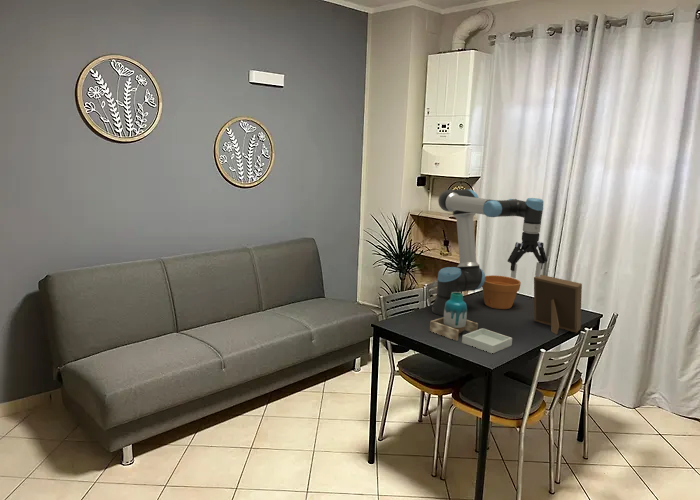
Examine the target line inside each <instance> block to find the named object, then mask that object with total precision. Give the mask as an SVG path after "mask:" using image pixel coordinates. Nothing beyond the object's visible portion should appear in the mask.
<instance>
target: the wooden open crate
mask: <svg viewBox="0 0 700 500" xmlns="http://www.w3.org/2000/svg"><path fill="white" fill-rule="evenodd" d="M478 327H479V323H478V322H475V321H471V320H469V319H467V320H466V326H465V329H464V331H466V332H468V333H470V332H473V331H476V330H479V329H478ZM430 331H431V333H433V332H434V334H436V333H437V335H439V336H441V335H442V337H444V336H445V338H447V339H451V340H452V339H453V341H456V342H458V341H459V335H460V333H459V330H457V329H454V328H451V327H449V326H446V325H444V316H442V317H439V318H435V319H434V320H430V323H429V332H430Z"/></svg>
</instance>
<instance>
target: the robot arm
mask: <svg viewBox="0 0 700 500" xmlns="http://www.w3.org/2000/svg"><path fill="white" fill-rule="evenodd" d="M437 202H438V205H439V208H440V209H441V210H443V211H444V212H452V215H453V217H454V218H455V219H456V229H457V230H456V231H457V242H458V245H457V246H458V254H459V255H458V257H459V263H458V265H457V266H451V267H450V266H447V267H443V268H441V269H439V270H438V273H437V284H436V285H437V286H436V296H435V299H434V302H433V304H432V307H431V312H432V313H434V314H435V315H438V316H442V317H444V308H445V303H446V302H447V301H448V300H450V298H451V293H452V292H460V293H462V292H469V291H471V292H473V291H476V290H480V289H481V288H483V287H482V286H483V284H484V282H485V276H486V275H485V272H484V270H483V269H482V268H481V267H480V264H479V263H478V262H477V256H476V255H477V254H476V240H475V239H476V238H475V229H474V228H475V226H474V216H476V214H479V215H485V216H486V217H488V218H497V217H498V218H500V217H501V218H502V217H519V218H520V217H521V218H523V224H522V234H521V242H518V241H516V242H515V245H514V248H513V249H512V251H511V253H510V255H509V257H508V259H507V262H508V263H510V269H509V270H510V272H511V273H510V278H514V279H516V277H517V270H518V262H519V261H520V259H521V258H522V257H523V256H524V255H525V254H526V253H532V254H533V255H534V257H535V259H536V260H537V261H536V265H535V274H534V277H535V276H537V277H540V275H542V274H541V273H542V270H543V266H544V265H545V262H548V259H547V256H546V255H547V254H546V252H545V248H544V242H542V241H539V240H540V232H541V225H542V216H543V212H544V200H543V199H541V198H535V197H528V198H526V200H520V199H516V198H508V199H503V200H502V199H501V200H500V199H499V200H497V199H489V198H481V197H479V195H478V194H477V192H476V191H475V190H472V189H467V188H466V189H465V188H464V189H463V188H462V189H461V188H459V189H447V190H444V191H443V192H441V194H440V195H439V197H438V201H437Z"/></svg>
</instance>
